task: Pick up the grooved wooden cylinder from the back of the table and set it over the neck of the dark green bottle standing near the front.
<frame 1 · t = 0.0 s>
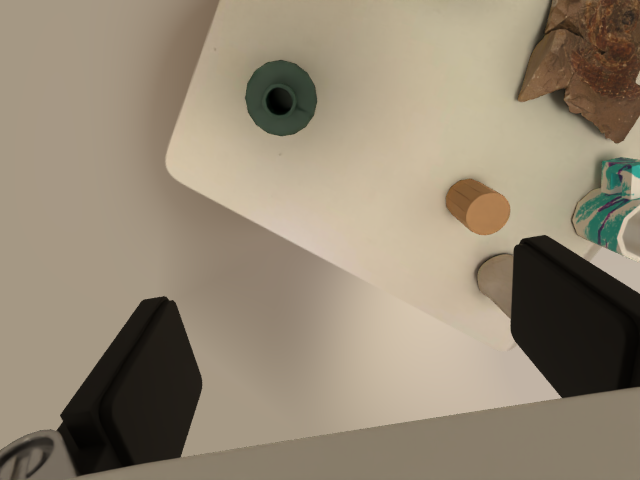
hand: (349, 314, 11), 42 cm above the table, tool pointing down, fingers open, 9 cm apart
fossil: (596, 48, 47), on the table
grooved wooden cylinder: (465, 198, 54), on the table
bottle: (285, 95, 48), on the table
figurine: (498, 268, 58), on the table
mug: (600, 199, 55), on the table
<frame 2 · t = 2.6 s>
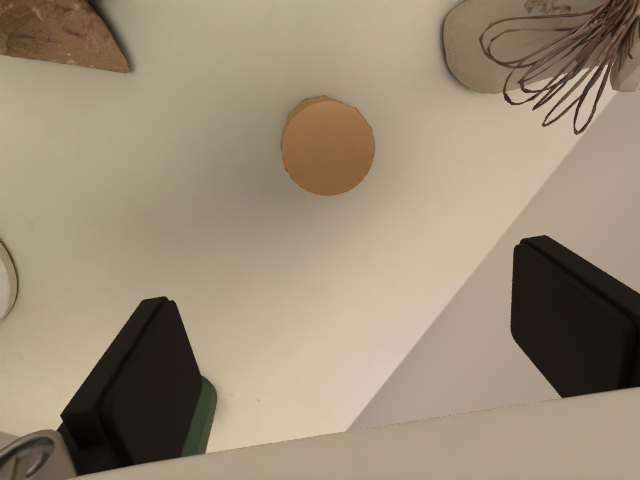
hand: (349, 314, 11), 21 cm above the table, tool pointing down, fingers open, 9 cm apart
grooved wooden cylinder: (320, 135, 29), on the table
bottle: (182, 397, 37), on the table
figurine: (477, 33, 27), on the table
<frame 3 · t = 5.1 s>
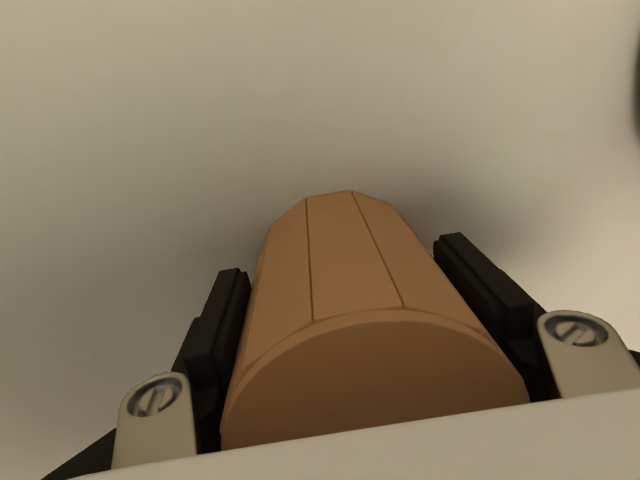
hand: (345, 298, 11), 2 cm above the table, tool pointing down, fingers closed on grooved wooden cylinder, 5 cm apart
grooved wooden cylinder: (339, 269, 13), on the table, touching gripper
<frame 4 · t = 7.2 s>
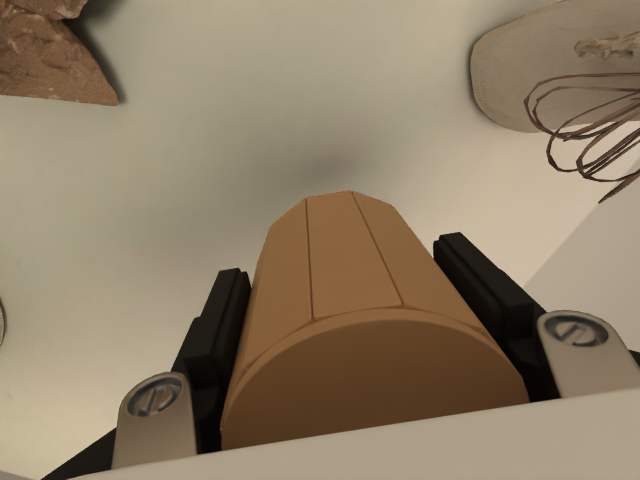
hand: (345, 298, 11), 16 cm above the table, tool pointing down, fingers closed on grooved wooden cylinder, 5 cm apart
grooved wooden cylinder: (339, 269, 13), point 14 cm above the table, touching gripper
figurine: (509, 62, 24), on the table
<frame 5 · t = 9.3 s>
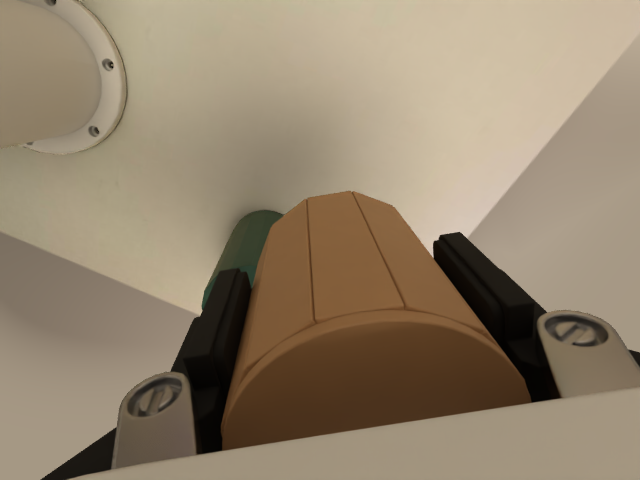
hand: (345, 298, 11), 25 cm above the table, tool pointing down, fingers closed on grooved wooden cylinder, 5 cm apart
grooved wooden cylinder: (340, 269, 13), point 23 cm above the table, touching gripper
bottle: (266, 242, 38), on the table
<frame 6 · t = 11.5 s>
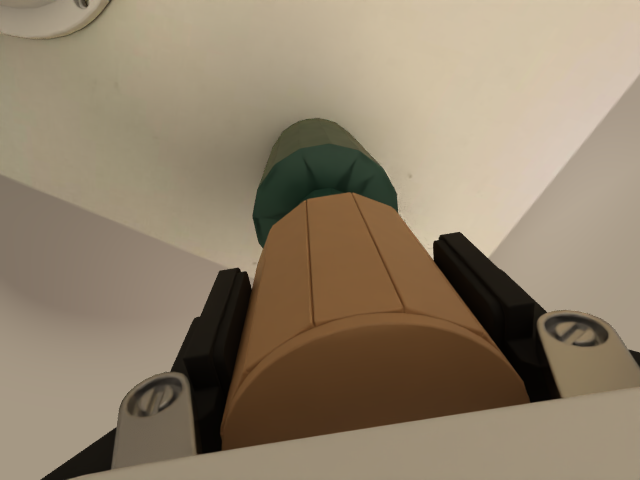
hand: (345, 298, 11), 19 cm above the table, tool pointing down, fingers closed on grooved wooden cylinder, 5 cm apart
grooved wooden cylinder: (340, 271, 13), point 17 cm above the table, touching gripper
bottle: (315, 164, 29), on the table
when the fingers open (14 cm above the table, at t = 13.3 s): grooved wooden cylinder stays where it is, resting on bottle.
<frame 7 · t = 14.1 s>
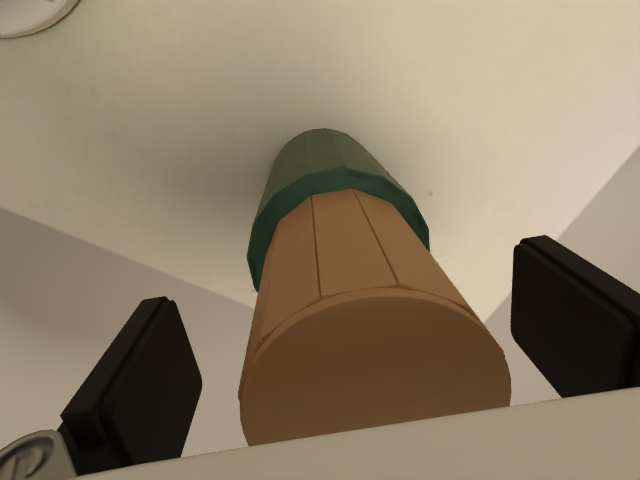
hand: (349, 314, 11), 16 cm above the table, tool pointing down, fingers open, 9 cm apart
grooved wooden cylinder: (342, 262, 14), point 12 cm above the table, touching bottle
bottle: (322, 181, 25), on the table
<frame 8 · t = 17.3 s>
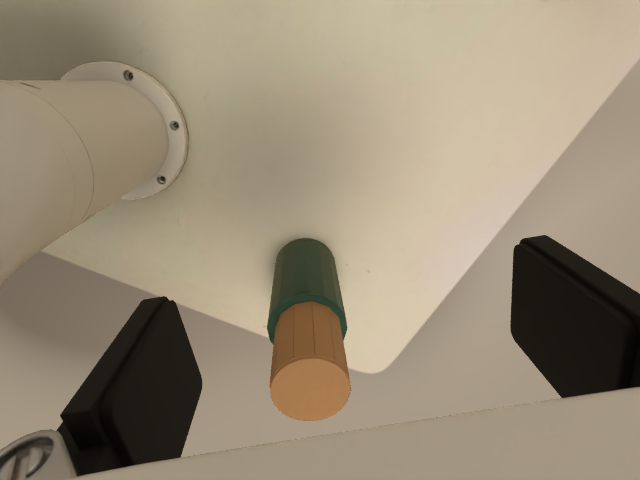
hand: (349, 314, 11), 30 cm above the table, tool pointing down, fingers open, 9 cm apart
grooved wooden cylinder: (308, 329, 33), point 12 cm above the table, touching bottle
bottle: (305, 265, 44), on the table
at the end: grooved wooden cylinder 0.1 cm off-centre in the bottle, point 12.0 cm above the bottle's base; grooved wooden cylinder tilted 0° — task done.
